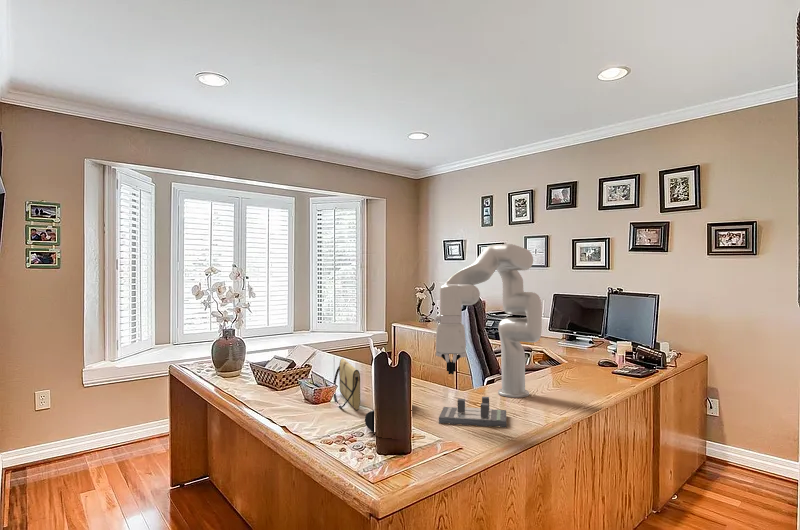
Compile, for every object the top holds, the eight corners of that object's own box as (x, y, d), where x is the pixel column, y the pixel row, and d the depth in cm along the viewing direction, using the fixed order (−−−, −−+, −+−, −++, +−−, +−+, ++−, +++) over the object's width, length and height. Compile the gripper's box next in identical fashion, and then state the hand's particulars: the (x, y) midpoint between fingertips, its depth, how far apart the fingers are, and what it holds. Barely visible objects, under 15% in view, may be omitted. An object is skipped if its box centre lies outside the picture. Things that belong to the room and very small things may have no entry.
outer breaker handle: (481, 415, 155) (481, 403, 155) (488, 415, 155) (488, 403, 155) (480, 417, 153) (480, 404, 153) (488, 417, 153) (488, 405, 153)
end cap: (382, 423, 156) (382, 402, 157) (400, 426, 153) (400, 405, 153) (364, 431, 148) (364, 410, 148) (383, 435, 144) (382, 413, 144)
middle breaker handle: (458, 410, 161) (458, 398, 162) (465, 410, 161) (465, 398, 161) (457, 411, 159) (457, 400, 159) (464, 412, 159) (464, 400, 159)
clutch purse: (329, 394, 196) (329, 358, 197) (345, 393, 198) (345, 357, 199) (343, 413, 168) (343, 371, 168) (361, 411, 170) (361, 370, 171)
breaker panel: (443, 412, 168) (443, 406, 168) (506, 415, 163) (506, 409, 163) (438, 423, 155) (438, 416, 155) (506, 427, 150) (506, 420, 151)
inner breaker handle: (482, 407, 164) (482, 396, 164) (489, 408, 164) (489, 396, 164) (482, 409, 162) (481, 398, 162) (489, 410, 161) (488, 398, 162)
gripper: (428, 321, 160) (428, 374, 159) (472, 321, 157) (472, 376, 156) (430, 319, 167) (431, 370, 166) (473, 319, 164) (473, 372, 163)
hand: (451, 373), depth 161 cm, fingers closed
